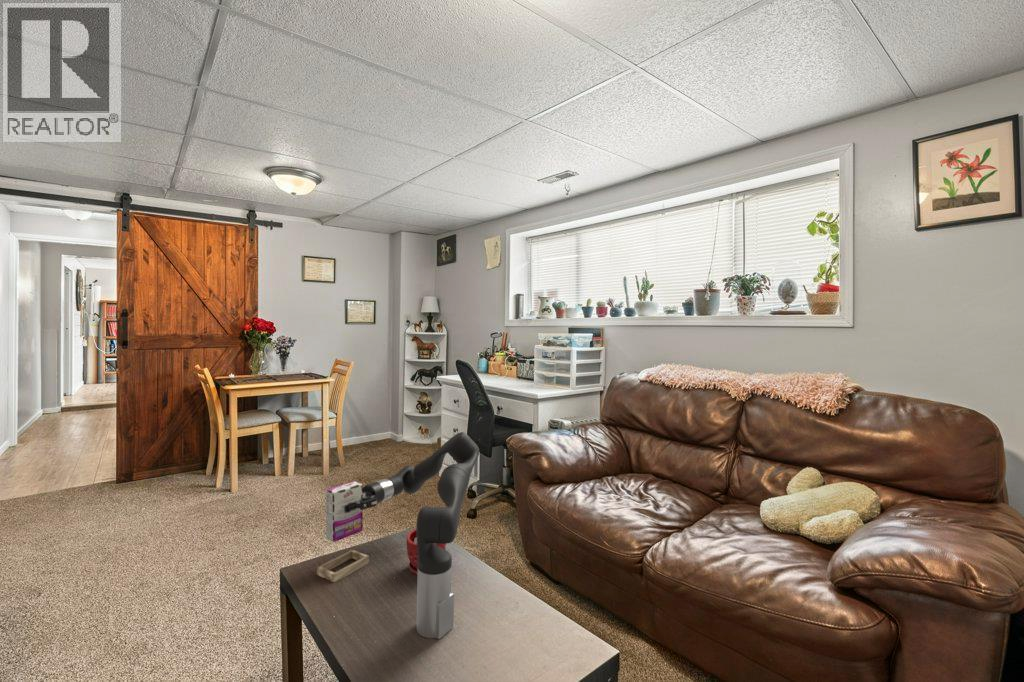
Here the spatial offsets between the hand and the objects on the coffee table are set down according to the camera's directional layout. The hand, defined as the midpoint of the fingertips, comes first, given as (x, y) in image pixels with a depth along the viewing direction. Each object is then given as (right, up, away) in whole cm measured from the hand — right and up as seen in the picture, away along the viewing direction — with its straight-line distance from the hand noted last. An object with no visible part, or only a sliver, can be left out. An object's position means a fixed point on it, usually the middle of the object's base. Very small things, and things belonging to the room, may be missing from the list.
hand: (339, 507), depth 157 cm
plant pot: (+28, -22, +4) cm, 36 cm away
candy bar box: (+1, -10, +2) cm, 10 cm away
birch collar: (+1, -22, +2) cm, 22 cm away
